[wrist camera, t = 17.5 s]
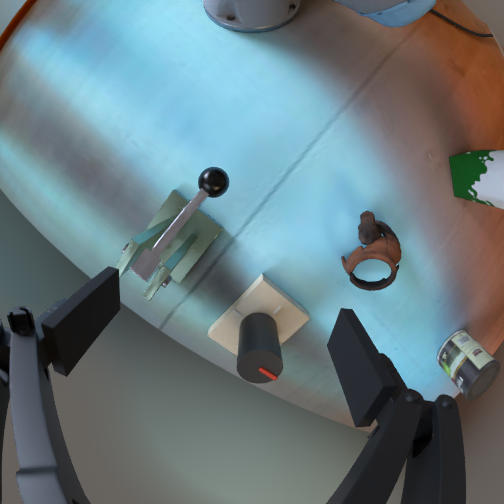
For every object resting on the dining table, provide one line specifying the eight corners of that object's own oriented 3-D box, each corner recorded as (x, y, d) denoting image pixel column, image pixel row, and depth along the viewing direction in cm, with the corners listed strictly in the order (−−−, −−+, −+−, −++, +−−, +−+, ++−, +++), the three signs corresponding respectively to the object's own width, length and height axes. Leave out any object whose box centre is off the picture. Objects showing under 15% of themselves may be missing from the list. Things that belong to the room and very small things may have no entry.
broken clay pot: (401, 252, 41) (407, 288, 35) (350, 263, 46) (349, 299, 40) (386, 191, 35) (394, 223, 29) (328, 207, 40) (324, 240, 34)
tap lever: (208, 168, 32) (214, 155, 29) (231, 186, 33) (238, 175, 29) (128, 266, 28) (123, 264, 25) (152, 286, 29) (151, 286, 25)
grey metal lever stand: (175, 189, 37) (133, 199, 23) (223, 227, 39) (207, 258, 25) (136, 246, 40) (87, 281, 26) (181, 281, 41) (150, 332, 27)
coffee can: (440, 372, 49) (467, 407, 35) (432, 350, 47) (464, 389, 33) (470, 345, 47) (500, 376, 33) (464, 321, 45) (500, 353, 31)
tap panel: (262, 273, 41) (262, 280, 39) (307, 310, 43) (310, 319, 40) (209, 327, 44) (207, 336, 41) (254, 358, 46) (254, 368, 43)
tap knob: (231, 329, 41) (227, 370, 32) (256, 305, 40) (258, 343, 30) (259, 349, 42) (261, 391, 33) (284, 326, 41) (292, 366, 31)
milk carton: (451, 202, 38) (535, 225, 18) (444, 151, 35) (531, 153, 16) (479, 194, 37) (555, 214, 18) (473, 148, 35) (552, 152, 15)
